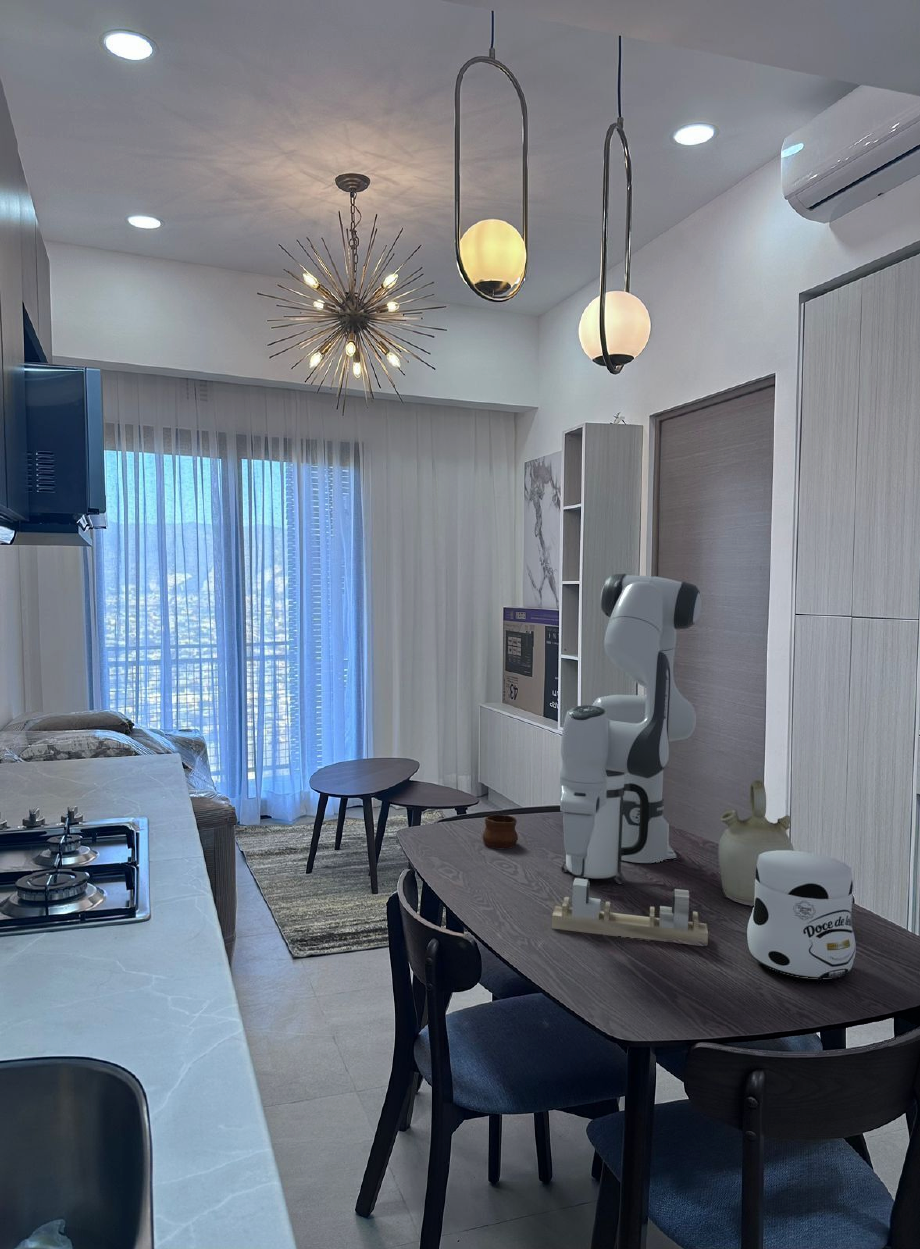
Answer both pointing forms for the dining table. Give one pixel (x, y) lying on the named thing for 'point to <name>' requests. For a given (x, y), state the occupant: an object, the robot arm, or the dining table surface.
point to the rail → (638, 922)
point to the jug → (749, 844)
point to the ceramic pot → (500, 831)
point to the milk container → (802, 915)
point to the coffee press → (612, 832)
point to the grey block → (584, 901)
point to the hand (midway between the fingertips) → (579, 865)
